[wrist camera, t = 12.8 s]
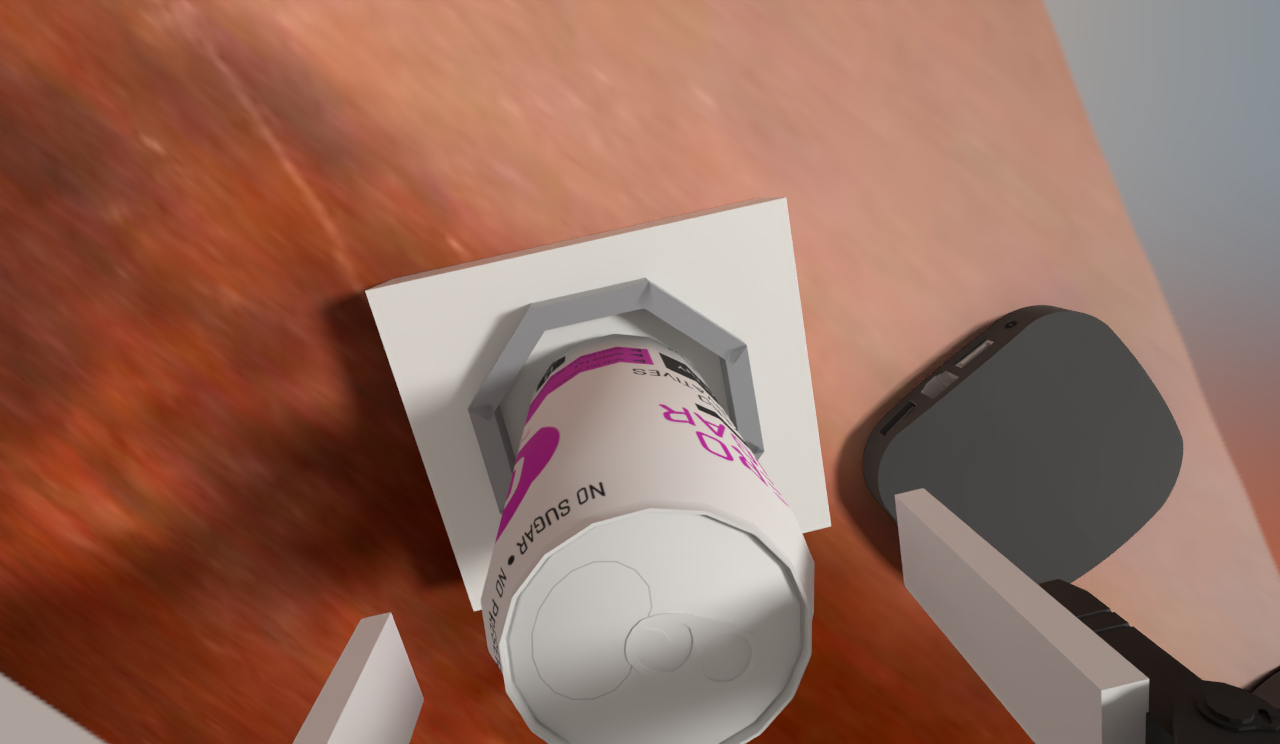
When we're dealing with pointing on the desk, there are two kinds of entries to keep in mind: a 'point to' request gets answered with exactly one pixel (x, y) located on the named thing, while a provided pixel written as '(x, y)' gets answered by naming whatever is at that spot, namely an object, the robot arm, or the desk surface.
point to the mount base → (591, 308)
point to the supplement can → (644, 561)
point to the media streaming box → (1035, 442)
